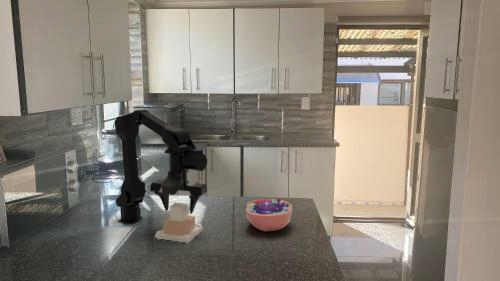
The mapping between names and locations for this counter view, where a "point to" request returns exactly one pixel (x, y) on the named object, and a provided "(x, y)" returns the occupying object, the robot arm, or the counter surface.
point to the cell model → (269, 214)
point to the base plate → (180, 238)
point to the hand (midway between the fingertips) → (179, 212)
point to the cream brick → (178, 212)
